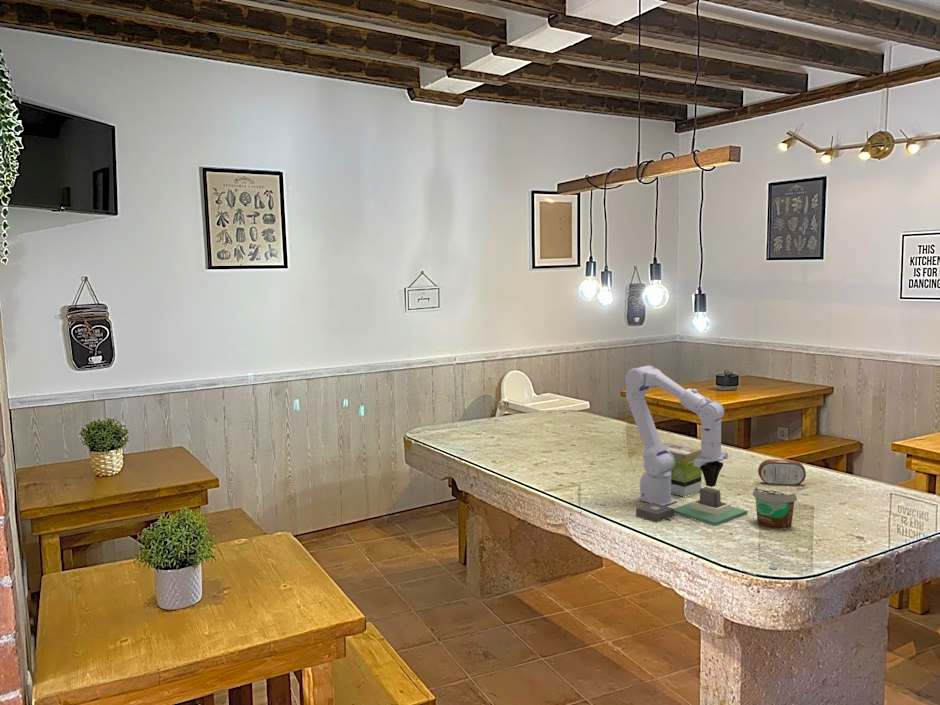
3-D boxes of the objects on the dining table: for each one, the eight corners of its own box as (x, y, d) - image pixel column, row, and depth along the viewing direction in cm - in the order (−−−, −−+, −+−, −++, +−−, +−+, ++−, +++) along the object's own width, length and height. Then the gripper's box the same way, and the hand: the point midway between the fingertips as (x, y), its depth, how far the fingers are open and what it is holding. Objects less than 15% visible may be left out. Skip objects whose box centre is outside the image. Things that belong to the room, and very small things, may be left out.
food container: (745, 523, 214) (745, 490, 213) (754, 518, 219) (754, 485, 218) (787, 533, 206) (788, 498, 205) (796, 527, 210) (797, 493, 209)
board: (670, 512, 226) (670, 503, 226) (702, 501, 235) (702, 492, 235) (715, 525, 213) (715, 515, 213) (747, 513, 223) (747, 504, 222)
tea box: (647, 488, 251) (646, 446, 250) (664, 482, 258) (664, 441, 256) (685, 498, 240) (685, 453, 238) (702, 491, 246) (702, 448, 245)
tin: (804, 484, 251) (805, 460, 250) (806, 487, 248) (806, 462, 247) (757, 482, 255) (758, 458, 255) (758, 484, 252) (759, 460, 252)
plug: (699, 507, 226) (699, 488, 225) (705, 505, 228) (705, 487, 227) (715, 512, 221) (715, 492, 221) (721, 510, 223) (721, 491, 223)
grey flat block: (636, 515, 224) (636, 507, 224) (653, 510, 229) (653, 502, 228) (662, 524, 216) (662, 515, 216) (680, 518, 221) (680, 509, 220)
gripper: (707, 448, 215) (707, 493, 216) (736, 440, 224) (736, 483, 225) (687, 444, 221) (687, 488, 222) (716, 436, 229) (716, 479, 231)
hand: (710, 485), depth 224 cm, fingers closed
